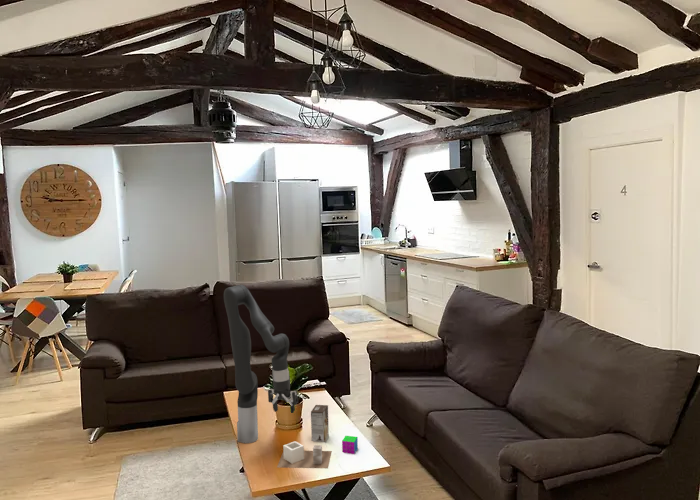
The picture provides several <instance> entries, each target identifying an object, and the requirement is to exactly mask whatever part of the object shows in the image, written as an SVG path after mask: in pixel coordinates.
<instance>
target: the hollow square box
mask: <svg viewBox="0 0 700 500" xmlns="http://www.w3.org/2000/svg"><path fill="white" fill-rule="evenodd" d="M282 446H283V447H282V448H283V451H284V459H285V460H287V461H289V462H290V463H292V464H293V463H295V462H298V461H300V460H303V459H304V451H305V445H303V444H301V443H300V442H298V441H295V440H294V441H292V442H288V443H287V444H284V445H282Z"/></svg>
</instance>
